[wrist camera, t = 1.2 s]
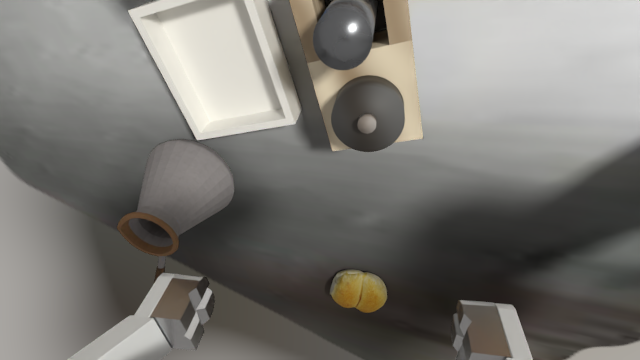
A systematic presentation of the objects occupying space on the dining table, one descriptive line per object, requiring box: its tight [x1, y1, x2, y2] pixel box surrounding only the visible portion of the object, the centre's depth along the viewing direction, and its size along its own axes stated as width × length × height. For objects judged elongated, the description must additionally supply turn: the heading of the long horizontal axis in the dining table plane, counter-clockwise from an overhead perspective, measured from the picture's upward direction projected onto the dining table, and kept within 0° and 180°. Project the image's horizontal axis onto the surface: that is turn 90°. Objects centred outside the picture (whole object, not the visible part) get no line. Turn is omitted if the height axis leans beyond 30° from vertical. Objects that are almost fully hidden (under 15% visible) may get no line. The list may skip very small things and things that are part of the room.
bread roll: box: [330, 269, 387, 313], centre depth 56 cm, size 8×9×4 cm
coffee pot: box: [117, 139, 235, 283], centre depth 44 cm, size 21×12×15 cm, turn 168°
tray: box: [128, 0, 302, 140], centre depth 36 cm, size 12×14×4 cm
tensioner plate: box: [289, 0, 423, 152], centre depth 31 cm, size 9×16×8 cm, turn 15°
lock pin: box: [313, 0, 378, 70], centre depth 28 cm, size 4×4×11 cm
